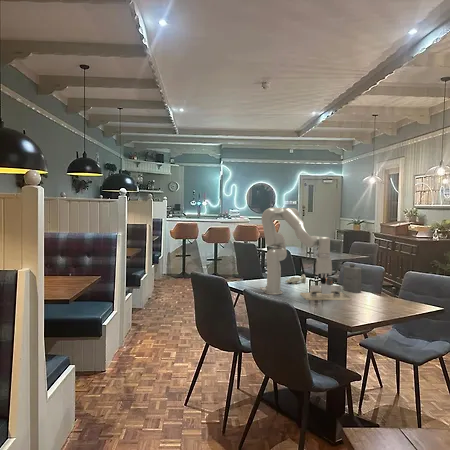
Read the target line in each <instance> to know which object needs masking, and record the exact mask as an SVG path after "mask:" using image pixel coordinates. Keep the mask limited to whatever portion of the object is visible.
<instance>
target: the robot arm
mask: <svg viewBox="0 0 450 450" xmlns="http://www.w3.org/2000/svg"><path fill="white" fill-rule="evenodd" d="M274 220H281V221H282V220H284V221H285V222H286V223H287V224H288V225H289V226H290V227H291V229H293V231H294V233H295V236H296V237H297V239H298V241H300V243H301V244H303V246H304V247H305V248H307V249H311V248H317V253H315V257H316V260H315V267H314V269H315V271H314V272H315V273H314V274H315V275H317V276H319V278H320V282H321V284H325V283H326V278H328V277H329V276H332V273H333V264H332V263H333V262H332V257H331V238H330V237H329V236H318V235H310V234H309V233H308V232H307V231H306V229H305V222H304V220H302V219H301V217H300V212H299V210H298V209H297V208H295V207H269V208H267V209H265V210H264V211H263V212H262V215H261V224H262V228H263V234H264V241H265V244H266V246H267V247H273V248H269V249H268V250H267V252H266V255H265V257H266V268H267V269H266V286H264V287H263V286H262V287H259V290H260V291H264V293H265V294H266V295H274V296H277V295H282V294H283V293H284V292H283V291H282V290H281V279H282V278H281V276H282V275H281V274H282V271H281V270H282V267H281V263H280V262H281V261H284V260H285V259H286V258H287V256H288V252H287V247H286V242H285V237H284V235H283V234H282V233H280V232H277V229H276V225H275V222H274Z"/></svg>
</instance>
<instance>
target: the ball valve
mask: <svg viewBox="0 0 450 450" xmlns="http://www.w3.org/2000/svg"><path fill="white" fill-rule="evenodd" d="M318 284H319V285H310V286H309V292H300V293H299V294H300V296H301V297H302V298H303V299H304V300H305V301H351V300H352V297H350V296H349V295H347V294H345V293H344V292H342V287H341V285H327V281H326V283H325V284H321V281H319V282H318Z"/></svg>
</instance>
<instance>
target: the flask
mask: <svg viewBox="0 0 450 450" xmlns="http://www.w3.org/2000/svg"><path fill="white" fill-rule="evenodd" d="M362 271H363V269H362V268H361V267H357V266H355V263H349V265H344V266H343V281H342V282H343V284H342V285H343V286H342V288H343V291H346V292H348V293H349V292H351V293H355V294H360V293H362Z"/></svg>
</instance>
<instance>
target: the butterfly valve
mask: <svg viewBox="0 0 450 450" xmlns="http://www.w3.org/2000/svg"><path fill="white" fill-rule="evenodd" d="M299 262H300V266H301V272H302V274H301V276H300V277H298V276H297V277H296V276H291V277H290V278H288V279H286V280H285V283H288V284H294V285H295V284H297V283H298V282H300V281H301V283H303V284H304V283H306V282H307V277H306V273H305V267H304V264H303V260H302V257H299Z"/></svg>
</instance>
